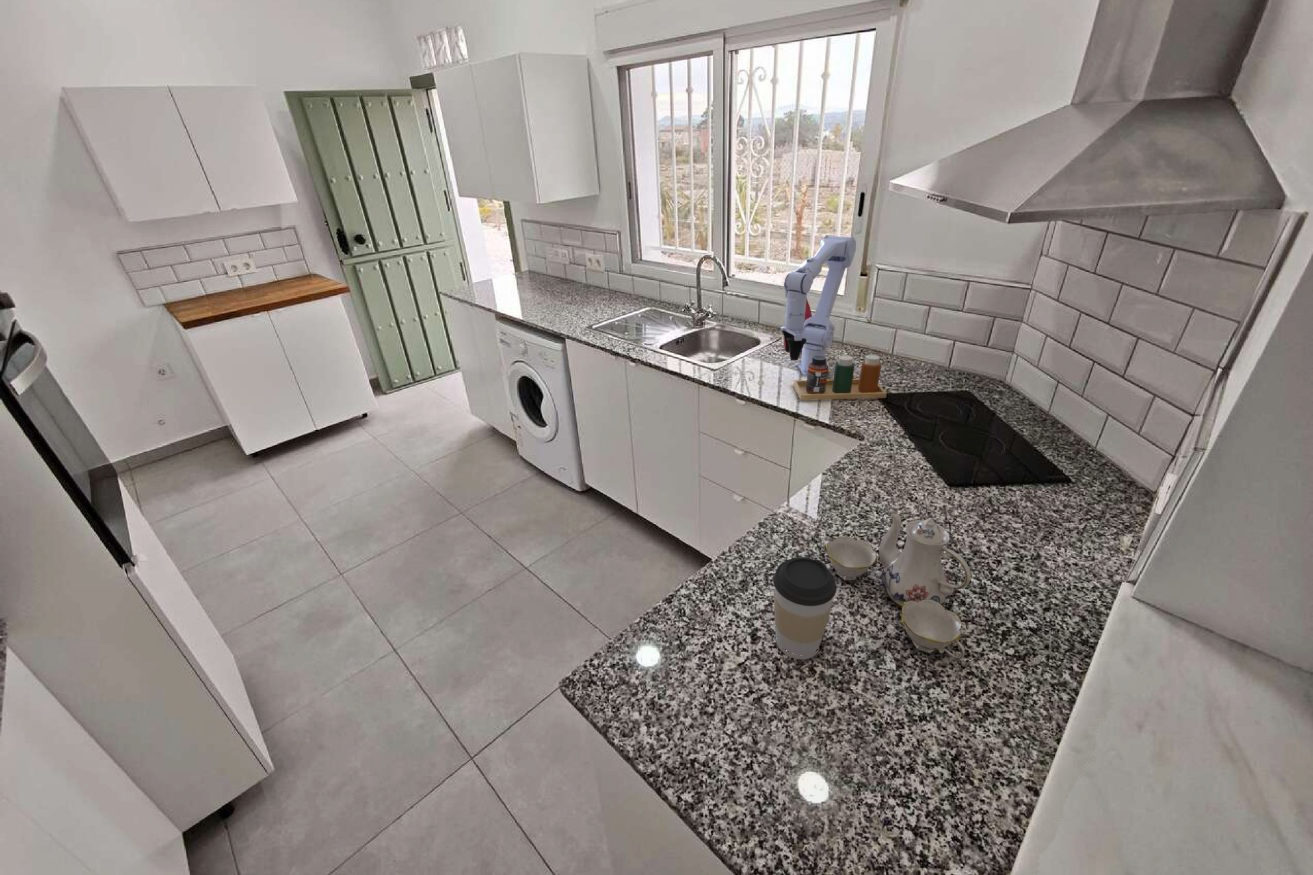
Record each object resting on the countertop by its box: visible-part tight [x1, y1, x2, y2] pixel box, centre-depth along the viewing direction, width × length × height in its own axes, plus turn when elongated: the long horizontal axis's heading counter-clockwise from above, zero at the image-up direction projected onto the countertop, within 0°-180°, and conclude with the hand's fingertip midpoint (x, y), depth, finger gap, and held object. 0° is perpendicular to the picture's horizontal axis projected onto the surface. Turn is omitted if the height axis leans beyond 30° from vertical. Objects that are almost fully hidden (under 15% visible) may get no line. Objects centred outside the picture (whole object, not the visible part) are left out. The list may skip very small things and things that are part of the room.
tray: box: [792, 378, 888, 401], centre depth 168 cm, size 12×26×2 cm, turn 88°
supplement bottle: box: [806, 355, 829, 394], centre depth 166 cm, size 6×6×11 cm
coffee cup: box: [772, 556, 837, 661], centre depth 82 cm, size 9×9×15 cm
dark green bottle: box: [832, 354, 856, 393], centre depth 165 cm, size 6×6×11 cm
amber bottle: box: [858, 354, 882, 393], centre depth 165 cm, size 6×6×11 cm
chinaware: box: [825, 509, 972, 660], centre depth 89 cm, size 28×17×17 cm, turn 29°
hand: (791, 355), depth 169 cm, fingers open, 7 cm apart
